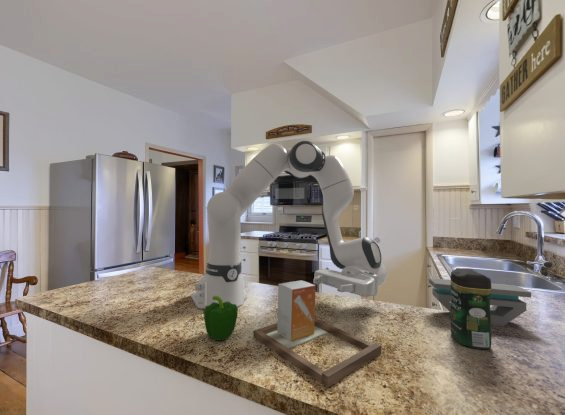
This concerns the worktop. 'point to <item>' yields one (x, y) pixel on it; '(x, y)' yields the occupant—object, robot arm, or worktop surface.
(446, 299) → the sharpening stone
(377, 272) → the robot arm
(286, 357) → the brown wooden frame
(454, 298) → the coffee jar
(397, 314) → the worktop surface
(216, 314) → the bell pepper
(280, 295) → the small box
